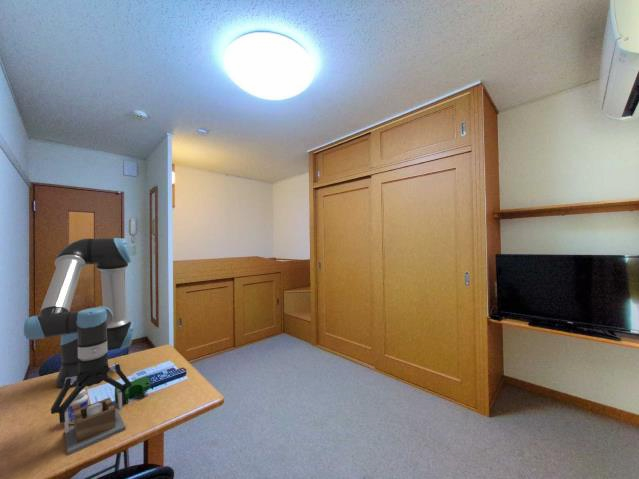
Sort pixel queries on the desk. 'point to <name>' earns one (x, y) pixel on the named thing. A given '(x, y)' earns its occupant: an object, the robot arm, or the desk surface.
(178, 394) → the desk surface
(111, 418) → the wooden box
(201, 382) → the desk surface
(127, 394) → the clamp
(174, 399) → the desk surface
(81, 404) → the pill bottle
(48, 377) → the desk surface
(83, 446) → the gray base with post
